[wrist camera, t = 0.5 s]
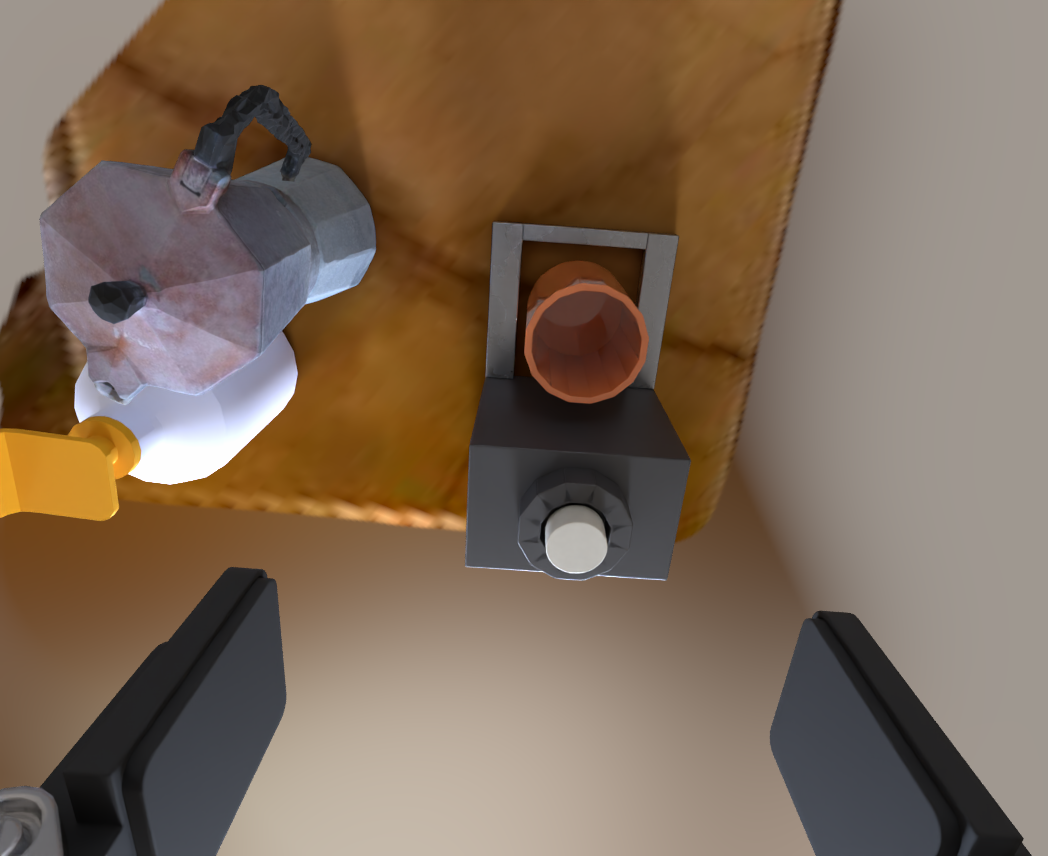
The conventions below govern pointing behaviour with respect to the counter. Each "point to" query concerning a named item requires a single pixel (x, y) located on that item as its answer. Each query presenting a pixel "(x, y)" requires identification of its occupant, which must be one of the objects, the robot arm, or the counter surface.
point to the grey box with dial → (573, 478)
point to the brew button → (575, 539)
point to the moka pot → (201, 254)
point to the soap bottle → (141, 439)
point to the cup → (583, 333)
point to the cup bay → (512, 234)
